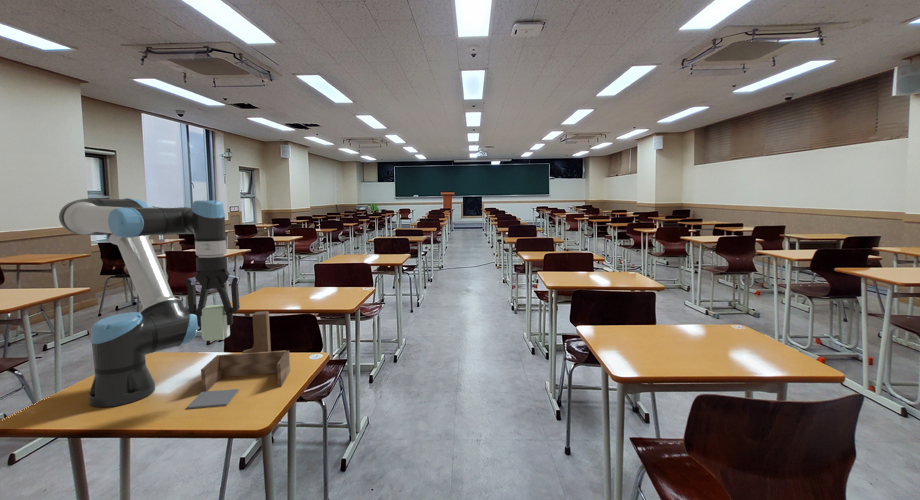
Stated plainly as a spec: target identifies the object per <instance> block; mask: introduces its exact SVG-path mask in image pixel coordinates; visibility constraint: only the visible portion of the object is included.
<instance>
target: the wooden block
mask: <svg viewBox="0 0 920 500" xmlns="http://www.w3.org/2000/svg"><path fill="white" fill-rule="evenodd" d="M252 331H253V346H252V348H249V349H244V350H243V351H242V352H241V353H256V352H271V351H272V348H271V347H272V346H271V345H272V343H271V330H270V312H269V311H267V310H264V311H263V310H262V311H255V312H254V313H253V314H252Z"/></svg>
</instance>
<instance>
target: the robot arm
mask: <svg viewBox="0 0 920 500" xmlns="http://www.w3.org/2000/svg"><path fill="white" fill-rule="evenodd" d="M224 209H225V207H224V203H223V202H222V201H220V200H194V201H193V202H192V207H186V206H183V207H182V206H179V207H150V206H149V205H148V203H146V202H145V201H144V200H141V199H135V198H133V199H132V198H82V199H75V200H73V201H70V202H68V203H66V204H65V205H64V206H62V207H61V209H60V211H59V214H58V220H59V223H60V225H61V226H62V227H63V229H65V230H67V231H68V232H71V233H73V234H77V235H82V236H107V238H108V241H109V242H110V243H111V244H112V245H116V246H117V247H118V250H119V252H120V254H121V257H122V259H123V261H124V265H125V266H126V268H127V272H128V274H129V277H130V280H131V281H132V284H133V286H134V289H135V291H136V294H137V296H138V298H139V302H140V303H141V306H142V309H141V310H140V311H139V312H138V311H130V312H125V313H118V314H114V315H110V316H107V317H104V318H102V319H100V320H98V321H96V322H95V323H94V324H93V325H92V326H91V328H90V329H91V330H90V331H91V332H90V333H91V336H90V337H91V338H90V343H91V346H92V347H91V349H92V357H93V367H94V369H93V370H94V378H93V381H92V383H91V384H92V385H91V387H90V390H89V394H88V404H89V406H91V407H94V408H95V407H96V408H107V407H108V408H110V407H117V406H122V405H125V404H126V405H127V404H130V403H134V402H137V401H139V400H143V399H144V398H146V397H148V396H150V395H151V394H153V393H154V392H155V390H156V382H155V379H154V377H153V376H152V374H151V372H150V370H149V369H148V367H147V364H146V363H147V362H146V355H150V354H152V353H153V354H154V353H157V352H160V351H163V350H167V349H171V348H176V347H177V348H178V347H181V346H182V345H184V344H188V343H191V342H192V341H193V340H194V339H195V338H196V336H197V333H198V329H199V328H201V339H202V340H204V336H203V321H202V309H203V308H205V307H206V306H207V301H208V296H209V292H210V290H212V289H213V290H216V291H217V293H218V294H219V297H220V300H221V303H222V305H223V306H224V309H225V312H226V313H225V314H224V315H223V319H224V335H225V337H226V338H228V337H230V335H231V330H230V329H231V326H232V325H233V323H234V315H233V313H236V312H238V311H239V310H240V309H241V308H240V295H239V282H240V276H239V275H238V276H234V275H231V274H230V273H229V269H228V258H227V256H226V254H227V241H226V217H225V216H226V214H225V210H224ZM170 235H193V237H194V246H195V247H194V248H195V255H196V256H197V257H196V258H195V263H196V264H195V265H196V266H195V267H196V274H195V275H194V276H193V277H189V278H186V279H185V280H184V283H185V285H186V287H187V301H188V302H187V304H188V305H187V306H186V305H185V306H184V304H183V301H182V299H180V298H177V297H174V294H173V292H172V289H171V287H170V285H169V282H168V280H167V277H166V276H165V273H164V270H163V268H162V266H161V263H160V261H159V258H158V256H157V253H156V251H155V249H154V246H153V244H152V242H151V240H150V237H151V236H153V237H154V236H170ZM227 281H229V283H230V284H231V285H230V290H231V292H230V293H231V300H230V297H229V295H228V293H227V288H226V285H225V284H226V283H227ZM197 282H198V283H199V285H200V286H201V288H200V295H199V299H198V304H197V290H196V284H197Z"/></svg>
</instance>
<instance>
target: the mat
mask: <svg viewBox="0 0 920 500" xmlns="http://www.w3.org/2000/svg"><path fill="white" fill-rule="evenodd" d="M238 392H239V388H235V389H234V388H233V389H222V390H210V391H209V390H208V391H206V392H202V391H201V392H200V393H199V394H198V395H197V396H196V397H195V398H194V399H193V400H192V401H191V402H190V403H189V405H187V406H186V410H189V409H201V408H202V409H203V408H213V407H214V408H215V407H224V406H225V407H226V406H228V405H229V403H230V402H231V401H232V400H233V398H234V397H235V396H236V394H237V393H238Z"/></svg>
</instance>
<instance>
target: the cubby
mask: <svg viewBox="0 0 920 500" xmlns="http://www.w3.org/2000/svg"><path fill="white" fill-rule="evenodd" d="M290 372H291V360H290V350H273V351H272V350H271V352H256V353H242V352H241V353H229V354H227V353H226V354H216V355H215V357H213V358H212V359H211V360H210V361H209V362H207V364H206V365H204V367H203V368H201V369H200V375H201V376H200V377H201V389H202V391H201V392H206V391H209V390H210V389H211V388H212V387H213V386H214V385H215V384H216V383H217V382H218V381H219V380H220V379H221V378H224V377H225V378H226V377H238V376H250V375H252V376H253V375H254V376H255V375H263V374H265V375H266V374H267V375H268V374H276V375H277V387H280V388H281V387H282V386H283V385H284V383H285V381H286V379H287V377H288V376H289V374H290Z"/></svg>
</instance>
